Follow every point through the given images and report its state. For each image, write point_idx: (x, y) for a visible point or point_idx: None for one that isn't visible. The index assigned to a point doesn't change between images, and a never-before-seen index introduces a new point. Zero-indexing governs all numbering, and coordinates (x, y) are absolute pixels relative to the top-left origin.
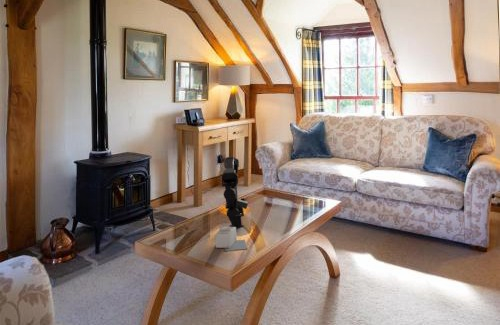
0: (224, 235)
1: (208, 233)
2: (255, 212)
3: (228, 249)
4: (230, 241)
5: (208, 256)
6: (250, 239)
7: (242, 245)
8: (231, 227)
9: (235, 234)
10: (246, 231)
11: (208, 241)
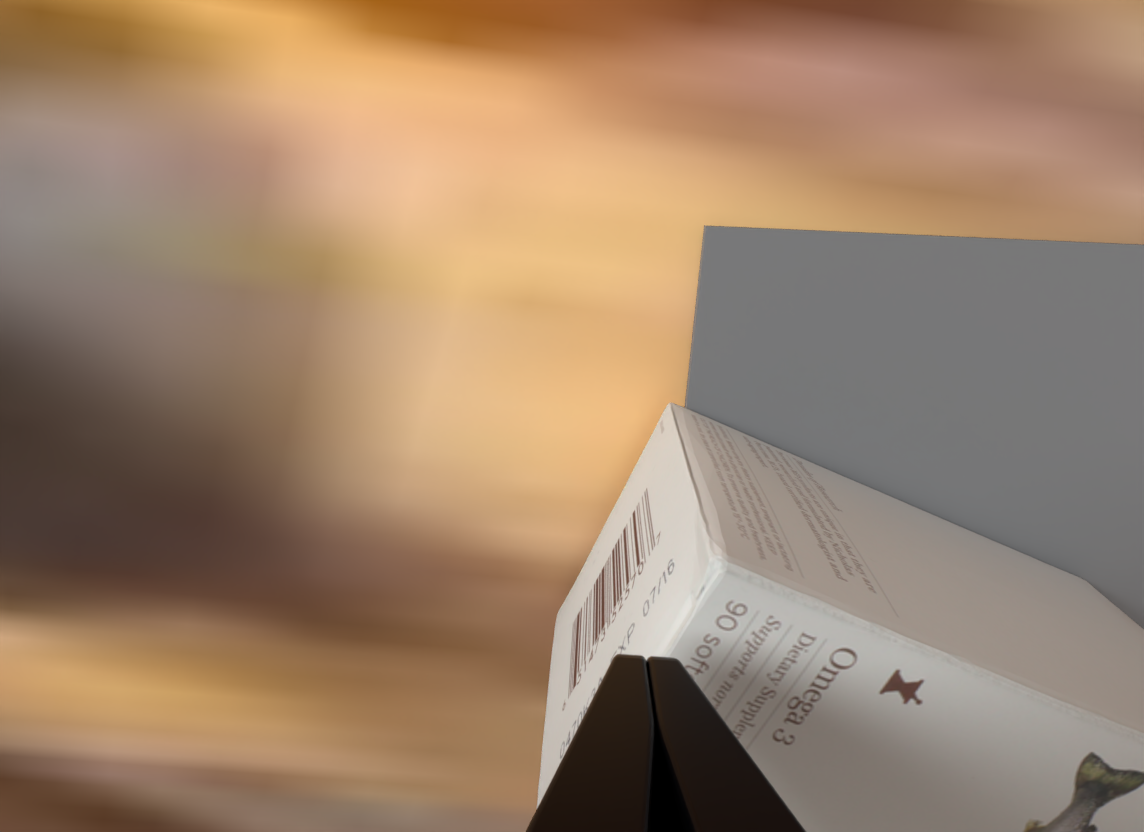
0: None
1: (120, 776)
2: None
3: (1133, 597)
4: (1100, 614)
5: None
6: (699, 78)
7: (1074, 327)
8: (737, 693)
9: (775, 489)
10: (52, 96)
11: (527, 805)
